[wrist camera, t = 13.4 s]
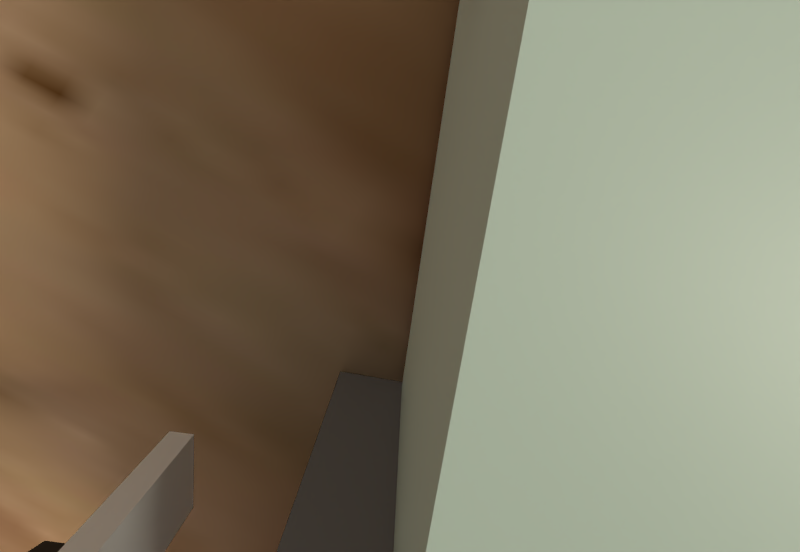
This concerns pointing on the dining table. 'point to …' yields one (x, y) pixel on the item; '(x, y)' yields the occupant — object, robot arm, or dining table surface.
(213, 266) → the dining table surface
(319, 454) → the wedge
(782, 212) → the pale green box
